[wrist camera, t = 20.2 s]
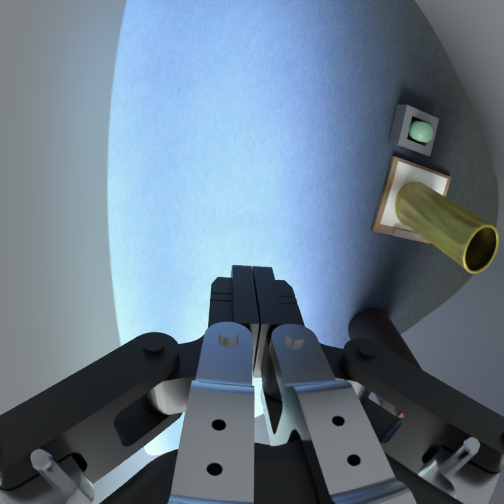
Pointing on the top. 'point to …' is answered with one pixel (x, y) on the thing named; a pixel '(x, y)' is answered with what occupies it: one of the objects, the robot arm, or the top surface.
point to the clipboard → (395, 182)
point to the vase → (448, 226)
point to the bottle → (381, 341)
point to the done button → (420, 131)
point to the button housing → (403, 124)
